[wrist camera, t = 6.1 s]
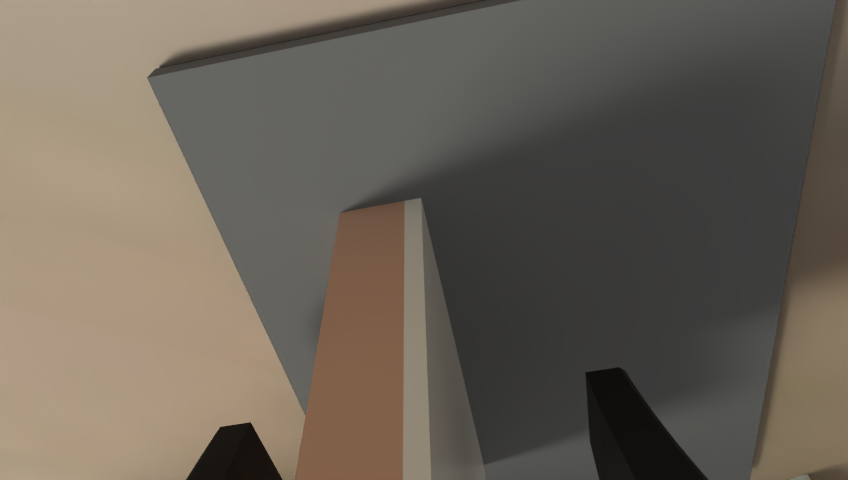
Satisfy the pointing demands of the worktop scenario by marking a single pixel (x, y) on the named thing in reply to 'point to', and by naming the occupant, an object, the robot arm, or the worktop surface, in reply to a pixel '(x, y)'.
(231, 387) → the worktop surface
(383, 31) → the mat
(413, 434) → the tile
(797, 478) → the external hard drive
